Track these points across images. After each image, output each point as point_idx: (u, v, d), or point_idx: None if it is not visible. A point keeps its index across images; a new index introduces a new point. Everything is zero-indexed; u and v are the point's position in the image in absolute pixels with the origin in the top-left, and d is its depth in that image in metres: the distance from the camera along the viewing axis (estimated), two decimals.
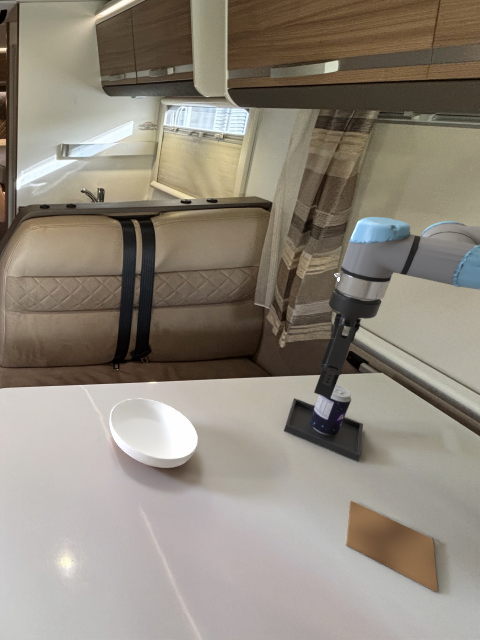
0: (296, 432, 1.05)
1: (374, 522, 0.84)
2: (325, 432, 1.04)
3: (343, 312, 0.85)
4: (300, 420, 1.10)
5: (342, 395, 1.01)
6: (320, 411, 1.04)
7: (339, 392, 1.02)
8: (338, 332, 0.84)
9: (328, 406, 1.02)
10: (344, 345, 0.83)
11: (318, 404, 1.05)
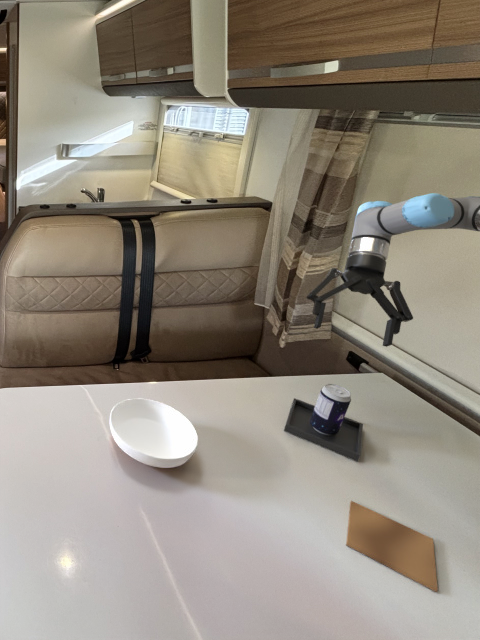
0: (296, 432, 1.05)
1: (374, 522, 0.84)
2: (325, 432, 1.04)
3: (345, 268, 1.12)
4: (300, 420, 1.10)
5: (342, 395, 1.01)
6: (320, 411, 1.04)
7: (339, 392, 1.02)
8: (327, 275, 1.13)
9: (328, 406, 1.02)
10: None
11: (318, 403, 1.05)
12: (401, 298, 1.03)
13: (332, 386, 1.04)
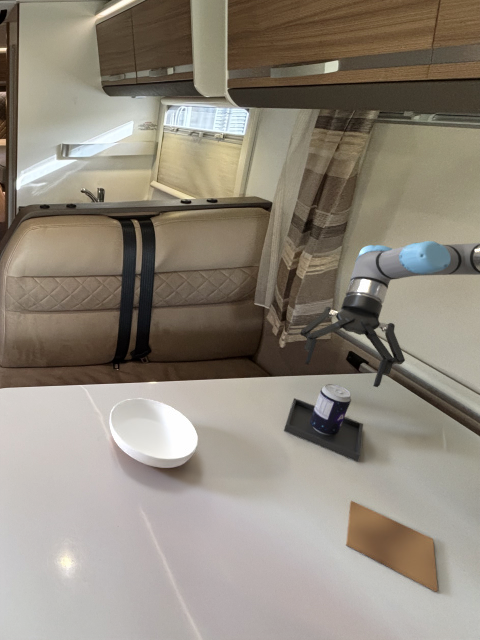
0: (296, 432, 1.05)
1: (374, 522, 0.84)
2: (325, 432, 1.04)
3: None
4: (300, 420, 1.10)
5: (342, 395, 1.01)
6: (320, 411, 1.04)
7: (339, 392, 1.02)
8: None
9: (328, 406, 1.02)
10: None
11: (318, 403, 1.05)
12: (394, 340, 1.04)
13: (332, 386, 1.04)
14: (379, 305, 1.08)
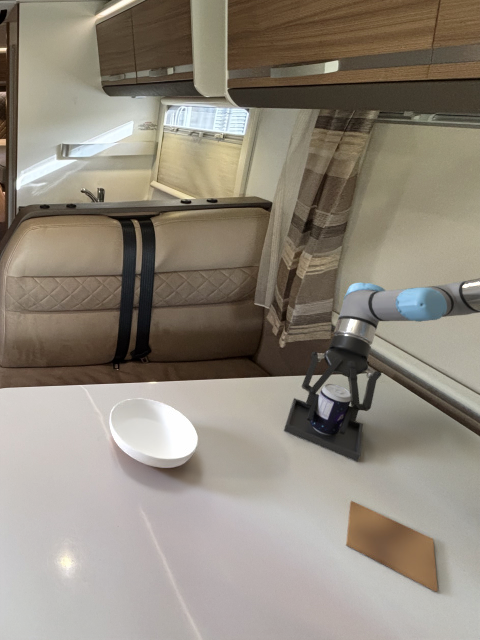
0: (296, 432, 1.05)
1: (374, 522, 0.84)
2: (325, 432, 1.04)
3: None
4: (300, 420, 1.10)
5: (342, 395, 1.01)
6: (320, 411, 1.04)
7: (339, 392, 1.02)
8: None
9: (328, 406, 1.02)
10: None
11: (318, 403, 1.05)
12: (371, 387, 1.01)
13: (332, 386, 1.04)
14: (367, 347, 1.04)
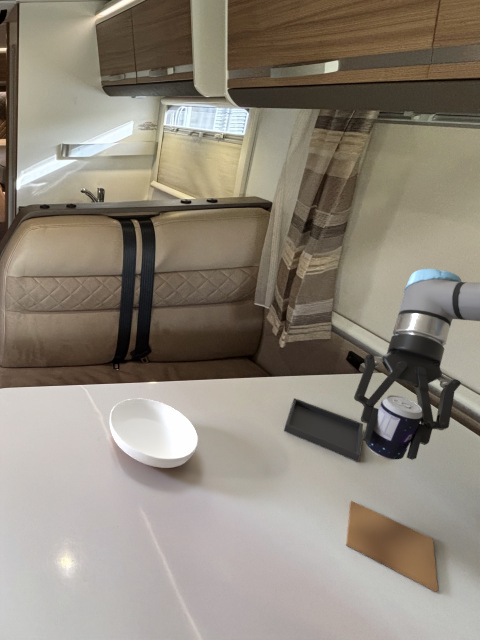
0: (296, 432, 1.05)
1: (374, 522, 0.84)
2: (387, 456, 0.83)
3: None
4: (300, 420, 1.10)
5: (411, 409, 0.80)
6: (381, 429, 0.82)
7: (406, 406, 0.80)
8: None
9: (392, 424, 0.81)
10: (364, 372, 0.88)
11: (377, 420, 0.83)
12: (448, 400, 0.80)
13: (396, 398, 0.82)
14: (441, 349, 0.83)
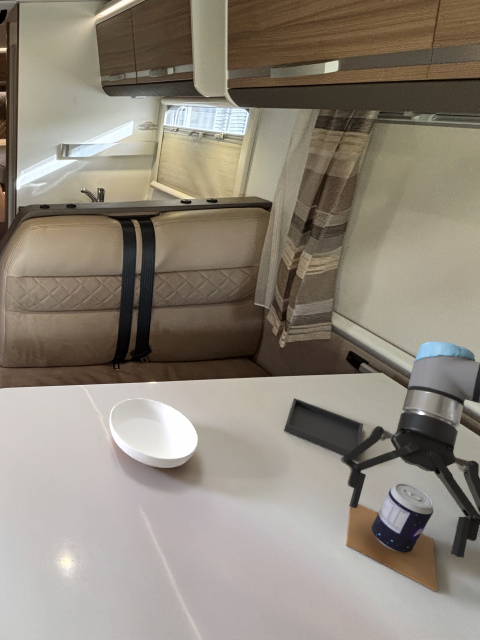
0: (296, 432, 1.05)
1: None
2: (395, 549, 0.78)
3: None
4: (300, 420, 1.10)
5: (421, 503, 0.75)
6: (389, 520, 0.78)
7: (416, 498, 0.76)
8: (371, 433, 0.85)
9: (401, 517, 0.76)
10: (365, 440, 0.84)
11: (385, 510, 0.79)
12: None
13: (405, 488, 0.78)
14: (454, 432, 0.78)
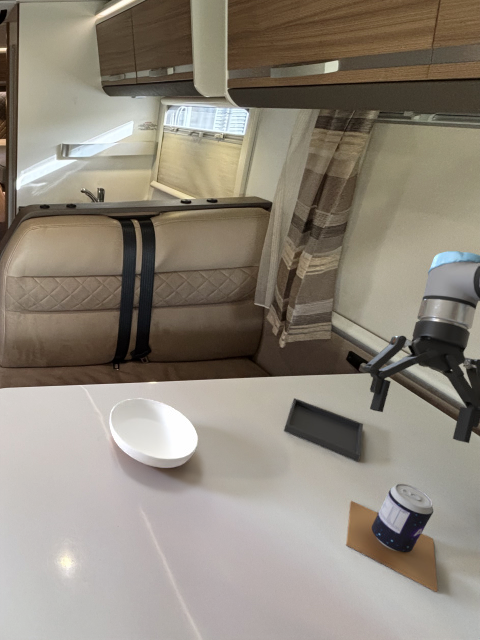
0: (296, 432, 1.05)
1: None
2: (395, 549, 0.78)
3: (413, 334, 0.89)
4: (300, 420, 1.10)
5: (421, 503, 0.75)
6: (389, 520, 0.78)
7: (416, 498, 0.76)
8: (390, 341, 0.90)
9: (401, 517, 0.76)
10: (388, 349, 0.88)
11: (385, 510, 0.79)
12: None
13: (405, 488, 0.78)
14: (468, 336, 0.84)
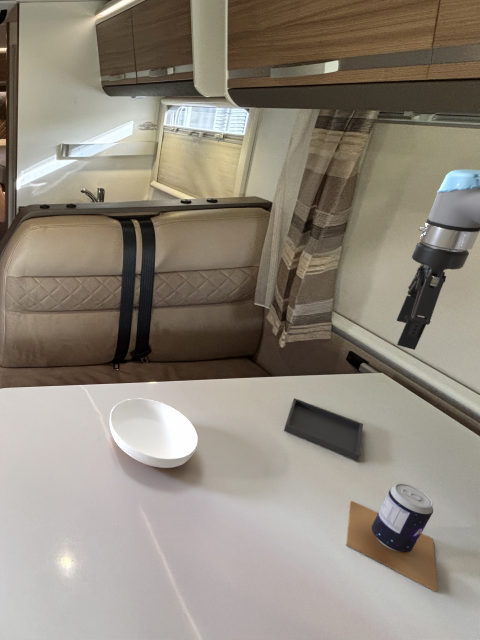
0: (296, 432, 1.05)
1: None
2: (395, 549, 0.78)
3: (430, 264, 0.87)
4: (300, 420, 1.10)
5: (421, 503, 0.75)
6: (389, 520, 0.78)
7: (416, 498, 0.76)
8: (426, 283, 0.86)
9: (401, 517, 0.76)
10: (433, 295, 0.85)
11: (385, 510, 0.79)
12: None
13: (405, 488, 0.78)
14: None
